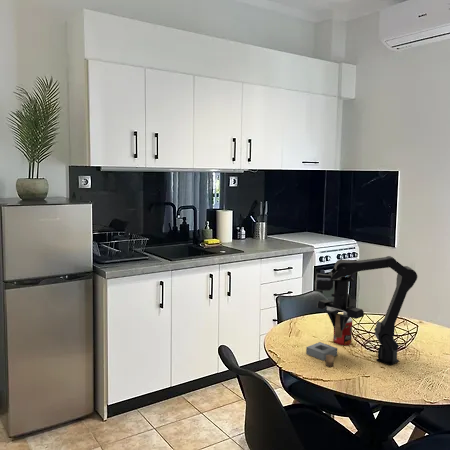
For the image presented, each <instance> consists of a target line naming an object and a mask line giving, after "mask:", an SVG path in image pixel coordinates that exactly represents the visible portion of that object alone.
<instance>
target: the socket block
mask: <svg viewBox="0 0 450 450" xmlns="http://www.w3.org/2000/svg"><path fill="white" fill-rule="evenodd" d="M305 349H306V350H305V354H306V355H308V356H310V357H313V358H316V359H318V360H321V361H324V362H325V361H326V355H333V356H334V357H336V356H338V347H335V346H333V345H329V344H326V343H324V342H321V341H319V342H316V343H313V344H311V345H308V346H306V348H305Z"/></svg>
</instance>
